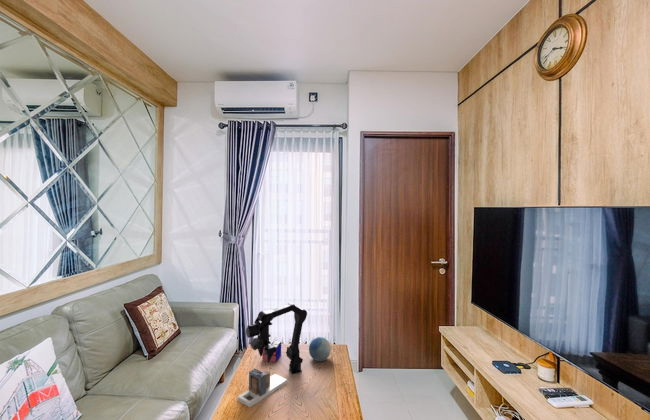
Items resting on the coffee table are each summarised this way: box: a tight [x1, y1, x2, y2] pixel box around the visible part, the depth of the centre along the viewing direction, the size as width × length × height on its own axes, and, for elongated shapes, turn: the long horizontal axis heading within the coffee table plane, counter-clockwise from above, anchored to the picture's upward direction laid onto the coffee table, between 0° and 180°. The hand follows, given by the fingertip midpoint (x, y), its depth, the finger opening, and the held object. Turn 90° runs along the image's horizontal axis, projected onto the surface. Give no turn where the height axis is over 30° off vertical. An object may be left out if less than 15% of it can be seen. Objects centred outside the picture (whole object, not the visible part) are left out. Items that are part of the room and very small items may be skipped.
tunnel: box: [248, 368, 266, 396], centre depth 174 cm, size 4×9×10 cm, turn 54°
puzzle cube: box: [261, 339, 282, 363], centre depth 215 cm, size 10×10×10 cm
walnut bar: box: [252, 370, 271, 395], centre depth 176 cm, size 10×4×8 cm, turn 144°
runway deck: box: [237, 373, 288, 408], centre depth 178 cm, size 28×10×2 cm, turn 144°
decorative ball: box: [308, 336, 332, 362], centre depth 214 cm, size 15×15×15 cm
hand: (264, 358), depth 188 cm, fingers open, 9 cm apart
